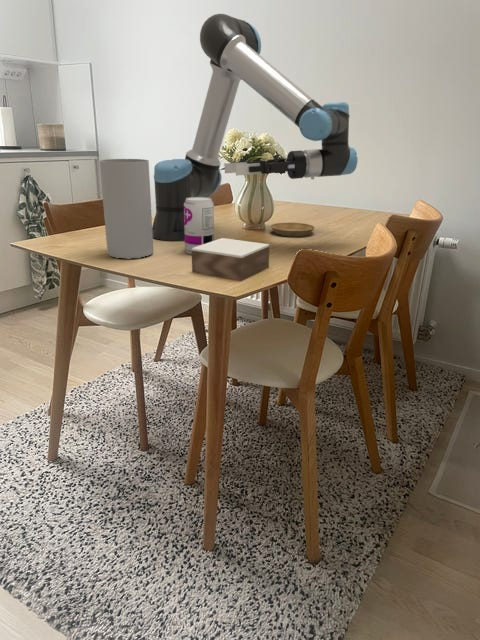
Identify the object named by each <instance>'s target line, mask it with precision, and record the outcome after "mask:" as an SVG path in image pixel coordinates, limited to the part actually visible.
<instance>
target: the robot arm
mask: <svg viewBox="0 0 480 640" xmlns="http://www.w3.org/2000/svg"><path fill="white" fill-rule="evenodd" d="M199 41H200V42H199V43H200V46H201V47H200V48H201V49H202V52H204V54H205V55H206V57H208V58H209V59H210V61H209V65H210V67H211V69H212V74H211V78H210V81H209V84H208V89H207V92H206V96H205V99H204V103H203V107H202V111H201V116H200V119H199V122H198V127H197V130H196V132H195V133H196V134H195V138H194V140H193V141H194V142H193V145H192V148H191V149H190V150H188V151H186V153H185V158H175V159H174V158H173V159H166V160H162V161H158V162H156V164H155V165H154V167H153V171H154V173H153V179H154V180H153V181H154V197H155V216H154V220H153V222H152V234H153V239H155V238H156V239H155V240H159V239H160V240H159V241H168V242H171V241H175V242H176V241H178V242H179V241H185V231H184V203H185V201H186V198H190V197H209V196H211V195H213V194H215V193H216V192H217V191H218V189H219V188H220V186H221V183H222V173H221V169H220V167H221V161H220V159H219V154H220V150H221V147H222V143H223V139H224V137H225V133H226V130H227V126H228V123H229V119H230V117H231V113H232V110H233V105H234V103H235V98H236V95H237V92H238V88H239V85H240V82H241V80H242V81H243V82H244V83H246V85H248V86H249V87H250V88H251V89H253V90H254V91H255V92H256V93H257V94H259V95H260V96H261V97H262V98H263V99H265V100H266V102H268V103H269V104H270V105H271V106H272V107H274V108H275V109H276V110H278V112H280V113H281V114H282V115H283V116H285V117H286V118H287V119H289V120H290V121H291V122H292V123H293V124H294V125H295V126H297V127H298V128H299V131H300V134H301V135H302V136H303V137H304V138H305V139H307V140H310V141H312V142H318V141H321V149H317V148H316V149H304V150H290V151H289V152H288V154H287V156H286V158H285V157H283V158H282V157H279V158H275V159H268V160H267V159H266V160H260V161H259V160H258V161H243V162H240V161H239V162H227V163H226V162H225V163H224V164H223V165H224V166H223V167H224V174H235V176H248V175H249V176H250V175H260V174H262V175H264V174H266V175H269V174H286V172H287V176H288V177H289V179H291V180H296V179H303V178H305V179H306V178H307V179H308V178H310V179H311V180H315V178H319V177H321V178H322V177H336V176H345V175H346V176H347V175H350V174H353V173H354V172H355V171H356V169H357V167H358V166H357V165H358V155H357V151H356V149H355V148H354V147H350V145H349V137H350V136H349V130H350V129H349V126H350V124H349V123H350V108H349V107H350V106H349V104H348V103H347V102H341V101H340V102H327V103H324V104H323V105H320V104H319V103H318V102H317V101H316V100H314V98H312V97H311V96H310V95H309V94H308V93H306V91H304V90H303V89H302V88H301V87H299V86H298V85H296V84H295V83H294V82H293V81H292V80H290V78H288V77H287V76H286V75H285V74H283V73H282V72H281V71H280V70H278V69H277V68H276V67H274V66H273V64H271V62H269V61H268V60H266V59H265V58H264V57H263V56H262V55H261V50H262V41H261V37H260V34H259V32H258V30H257V29H256V27H255V26H254V25H252V24H250V23H249V22H248V21H246V20H243V19H240V18H236V17H235V16H231V15H229V14H225V13H217V14H212V15H211V16H210V17H208V18H207V19H206V20H205V21H204V22H203V24H202V26H201V29H200V32H199Z"/></svg>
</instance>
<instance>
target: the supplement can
mask: <svg viewBox="0 0 480 640" xmlns="http://www.w3.org/2000/svg"><path fill="white" fill-rule="evenodd" d="M184 231H185V240H184V250H185V252H186V253H187V254H189V255H191V256H192V248H194V247H197V246H200V245H203V244H206V243H209V242H212V241H215V204H214V202H213V200H212V198H211V197H209V196H207V197H190V198H186V201H185V203H184Z"/></svg>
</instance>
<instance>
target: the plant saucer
mask: <svg viewBox="0 0 480 640" xmlns="http://www.w3.org/2000/svg"><path fill="white" fill-rule="evenodd" d="M270 228H271V229H272V231H273V232H274V233H275V234H276V235H279V236H282V237H290V238H291V237H295V238H296V237H299V238H300V237H306V236H308V235H309V234H311V233H312V232H313V231H314V230H315V225H312V224H309V223H302V222H301V223H300V222H278V223H273V224H271V225H270Z"/></svg>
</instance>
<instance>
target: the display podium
mask: <svg viewBox="0 0 480 640" xmlns="http://www.w3.org/2000/svg"><path fill="white" fill-rule="evenodd" d="M269 267H270V243H262V242H254V241H247V240H239V239H232V238H225V237H221V238H218V239H214V241H212V242H209V243H206V244H203V245H200V246H197V247H194V248H192V255H191V272H192V273H193V274H194V273H195V274H200V275H207V276H211V277H216V278H222V279H223V278H224V279H227V280H234V281H239V282H243V281H244V280H246V279H248V278H251V277H252V276H254V275H256V274H259V273H260V272H262V271H264V270H266V269H268V268H269Z"/></svg>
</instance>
